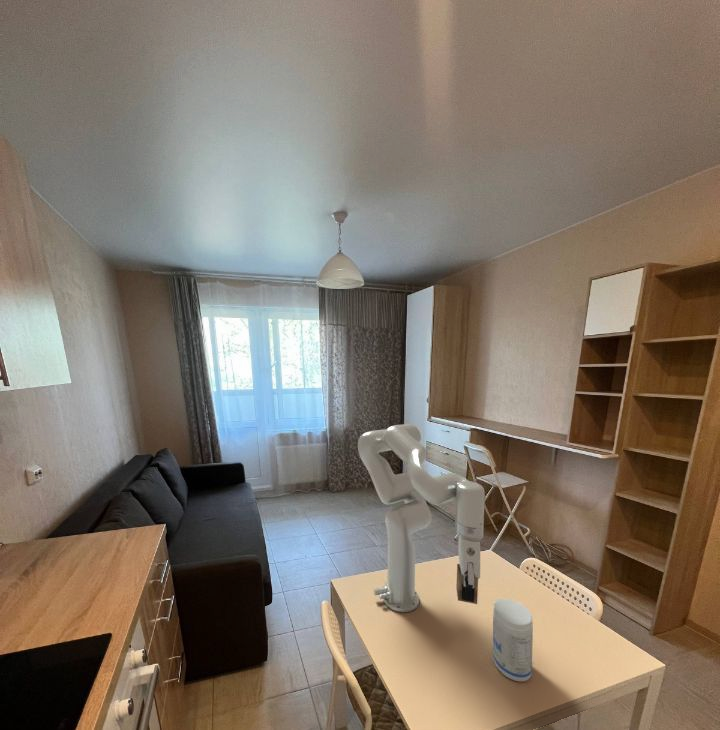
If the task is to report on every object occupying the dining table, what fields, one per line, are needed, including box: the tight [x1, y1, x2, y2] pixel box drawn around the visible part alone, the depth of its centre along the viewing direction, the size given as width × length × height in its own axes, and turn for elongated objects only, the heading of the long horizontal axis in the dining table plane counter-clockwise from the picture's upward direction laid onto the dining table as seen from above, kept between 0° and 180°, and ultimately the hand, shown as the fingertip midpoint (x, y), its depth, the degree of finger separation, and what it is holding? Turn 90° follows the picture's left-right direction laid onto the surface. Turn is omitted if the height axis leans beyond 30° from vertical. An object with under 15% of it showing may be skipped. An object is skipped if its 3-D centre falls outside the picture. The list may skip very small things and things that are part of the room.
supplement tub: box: [492, 598, 534, 683], centre depth 82 cm, size 10×10×15 cm
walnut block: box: [455, 563, 479, 605], centre depth 86 cm, size 5×5×7 cm
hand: (466, 592), depth 86 cm, fingers closed on walnut block, 5 cm apart
